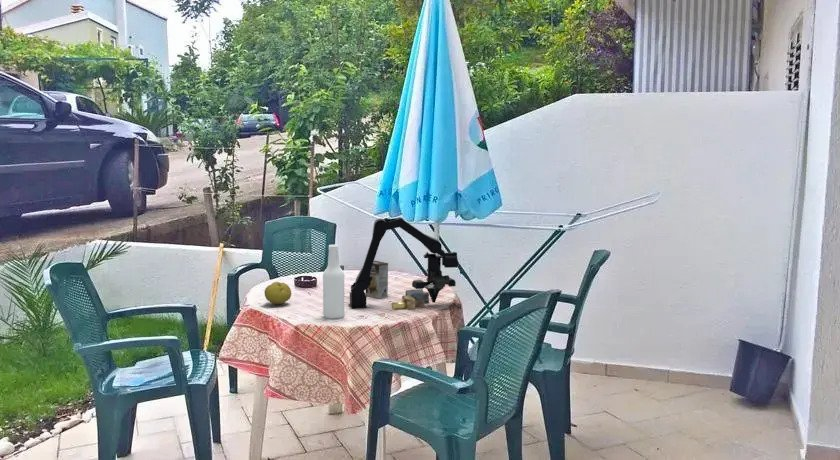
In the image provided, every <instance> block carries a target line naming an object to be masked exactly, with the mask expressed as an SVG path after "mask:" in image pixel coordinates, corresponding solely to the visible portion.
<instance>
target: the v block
mask: <svg viewBox="0 0 840 460" xmlns="http://www.w3.org/2000/svg"><path fill="white" fill-rule="evenodd" d="M423 289H424V288H423ZM423 289H409V290H407V289H406V290H405V295H409V296H411V297H412V298H414V299H415V301H420V300H423V301H424V304H429V303H430V295H429V292H428V291H427V292H424V290H423Z"/></svg>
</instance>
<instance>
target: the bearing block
mask: <svg viewBox="0 0 840 460" xmlns="http://www.w3.org/2000/svg"><path fill="white" fill-rule="evenodd" d="M401 302H407V308H406V309H407V310H408V311H412V310H416V308H415V299H414V298H412V297H411V296H409V295H406V294H405V295H401Z"/></svg>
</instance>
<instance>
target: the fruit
mask: <svg viewBox="0 0 840 460" xmlns="http://www.w3.org/2000/svg"><path fill="white" fill-rule="evenodd" d="M291 296H292V290H291V287H290V286H289V285H288V284H287V283H285V282H279V281H275V282H272V283H271V284H269V285H267V286H266V287H265V289H264V297H265V299H266V300H267V302H269V303H271V304H273V305H275V306H277V305H278V306H279V305H282V304H283V305H284V303H286V302H287V301H289V300H290V299H291Z"/></svg>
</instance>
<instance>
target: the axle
mask: <svg viewBox="0 0 840 460" xmlns="http://www.w3.org/2000/svg"><path fill="white" fill-rule="evenodd" d="M391 309H392V310H394V309H395V310H403V309H407V302H402V301H399V302H391Z"/></svg>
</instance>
